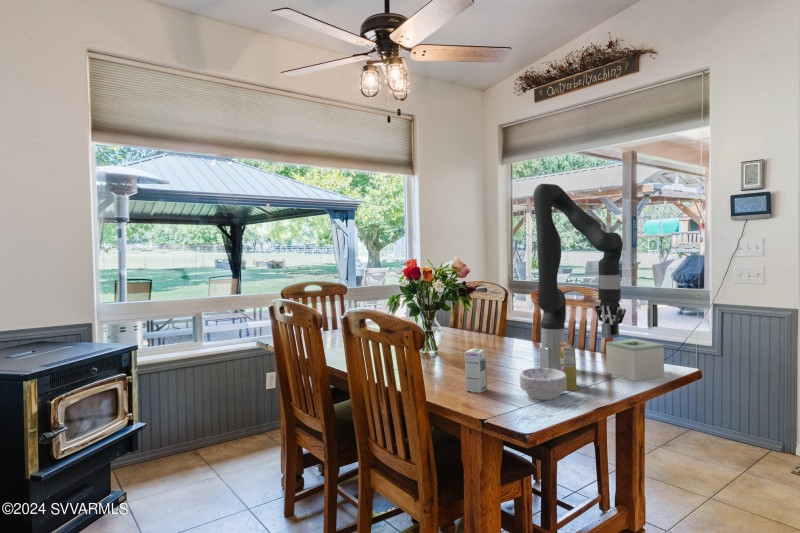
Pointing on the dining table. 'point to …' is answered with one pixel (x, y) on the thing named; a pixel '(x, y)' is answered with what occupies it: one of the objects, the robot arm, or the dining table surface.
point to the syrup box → (475, 370)
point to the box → (635, 359)
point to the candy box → (568, 364)
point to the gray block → (608, 331)
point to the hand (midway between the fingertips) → (610, 334)
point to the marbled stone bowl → (543, 383)
